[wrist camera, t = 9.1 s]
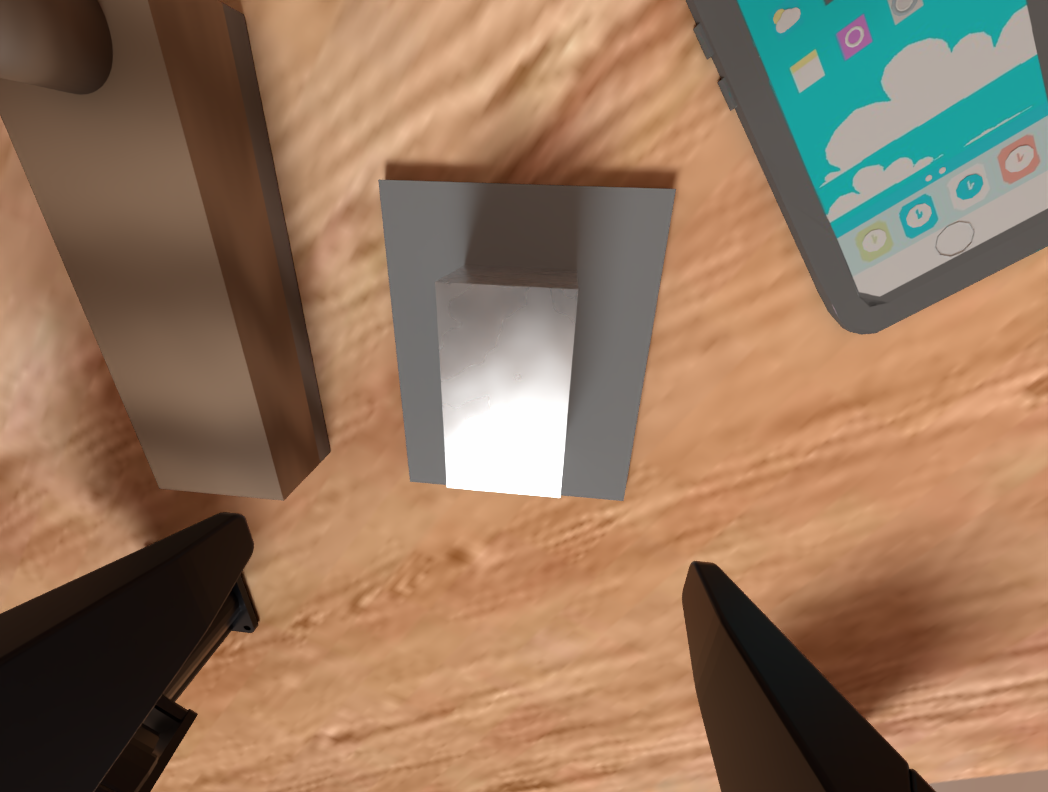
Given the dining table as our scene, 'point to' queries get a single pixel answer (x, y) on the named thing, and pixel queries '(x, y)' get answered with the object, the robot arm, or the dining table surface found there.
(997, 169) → the smartphone
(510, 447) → the light gray block
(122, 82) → the plane body
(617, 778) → the dining table surface
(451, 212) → the rubber mat
